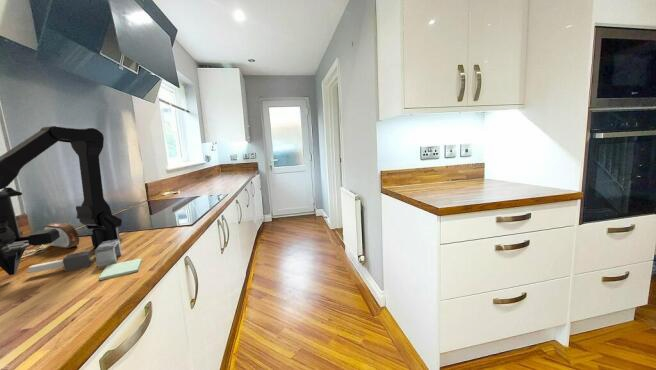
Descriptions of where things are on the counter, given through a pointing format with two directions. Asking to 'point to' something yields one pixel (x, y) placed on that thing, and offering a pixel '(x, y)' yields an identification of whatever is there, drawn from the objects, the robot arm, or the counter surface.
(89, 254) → the plug
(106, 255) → the housing
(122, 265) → the mat
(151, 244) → the counter surface
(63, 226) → the tin
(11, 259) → the robot arm
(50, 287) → the counter surface
